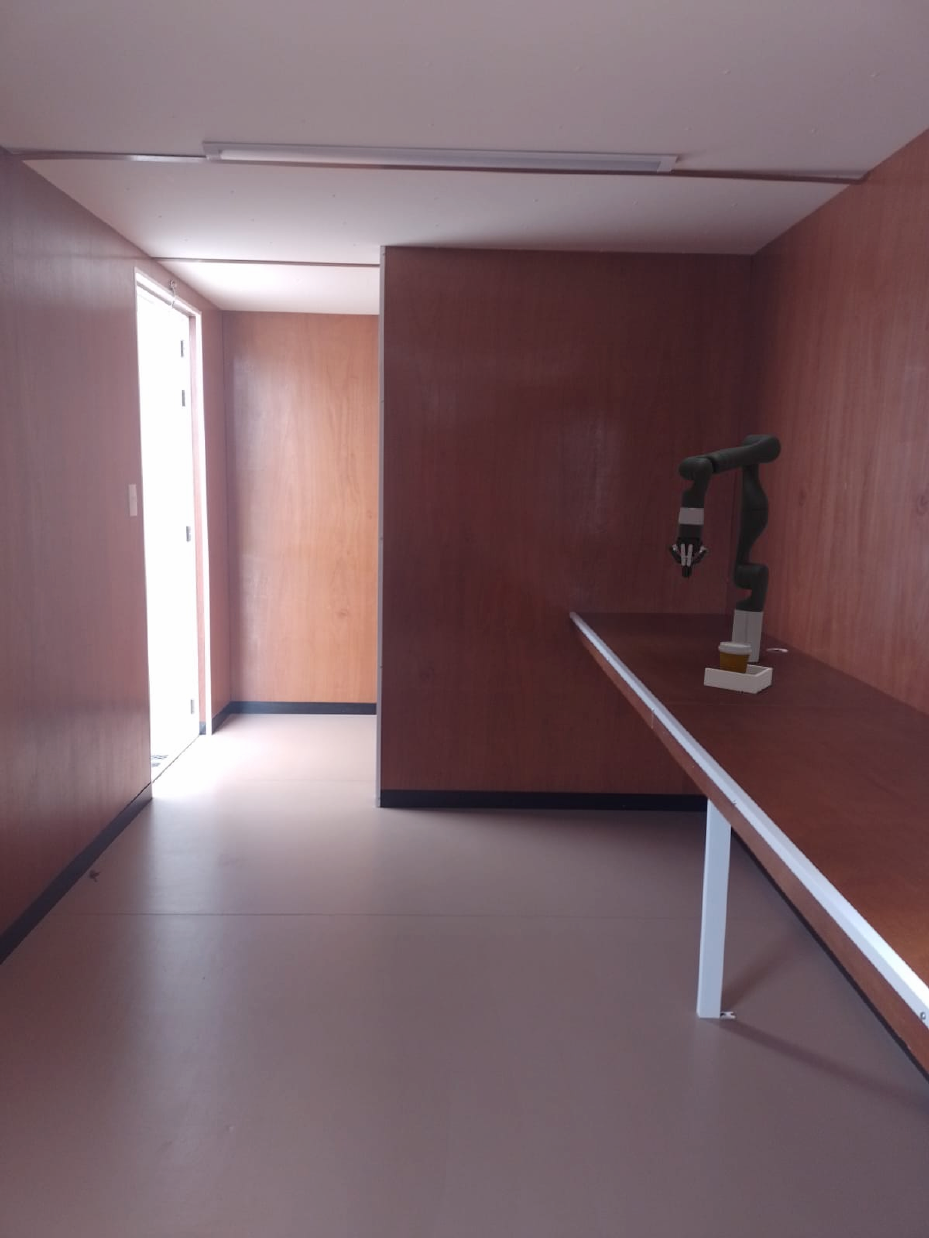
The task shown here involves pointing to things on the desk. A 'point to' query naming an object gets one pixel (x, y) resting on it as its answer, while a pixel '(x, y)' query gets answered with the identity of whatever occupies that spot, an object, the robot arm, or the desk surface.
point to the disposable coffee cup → (734, 656)
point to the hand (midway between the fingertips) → (686, 577)
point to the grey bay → (740, 679)
